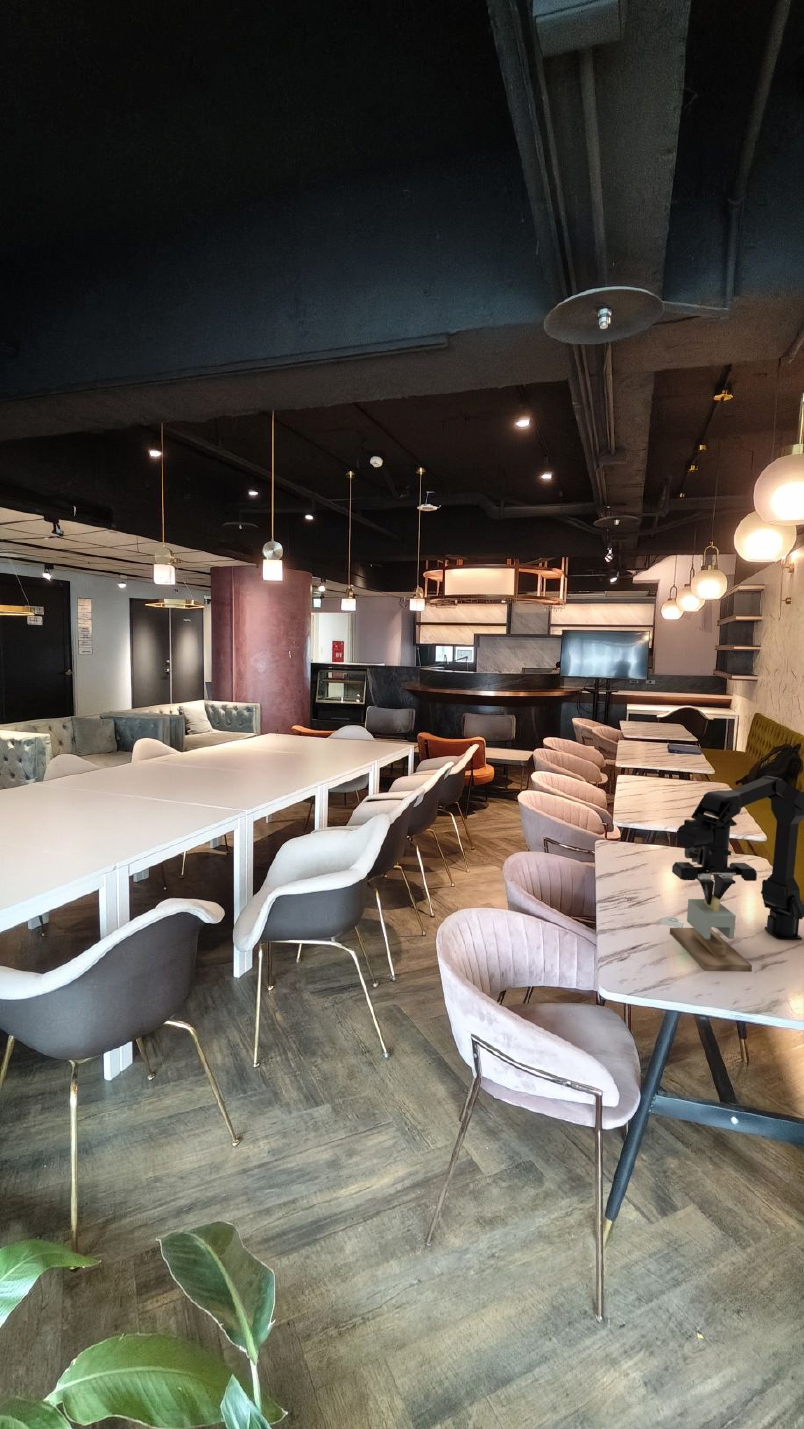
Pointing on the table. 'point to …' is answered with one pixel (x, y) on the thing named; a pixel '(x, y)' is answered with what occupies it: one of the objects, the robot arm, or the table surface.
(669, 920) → the mounting bracket
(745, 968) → the cleat board
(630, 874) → the table surface
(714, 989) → the table surface
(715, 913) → the cabinet block
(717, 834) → the robot arm
